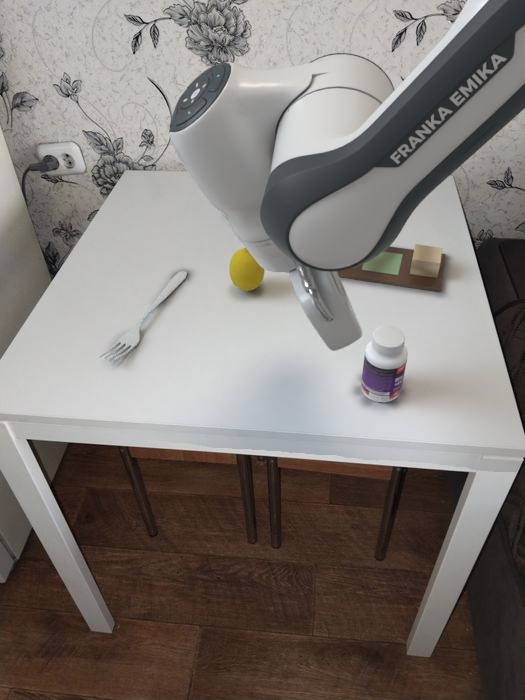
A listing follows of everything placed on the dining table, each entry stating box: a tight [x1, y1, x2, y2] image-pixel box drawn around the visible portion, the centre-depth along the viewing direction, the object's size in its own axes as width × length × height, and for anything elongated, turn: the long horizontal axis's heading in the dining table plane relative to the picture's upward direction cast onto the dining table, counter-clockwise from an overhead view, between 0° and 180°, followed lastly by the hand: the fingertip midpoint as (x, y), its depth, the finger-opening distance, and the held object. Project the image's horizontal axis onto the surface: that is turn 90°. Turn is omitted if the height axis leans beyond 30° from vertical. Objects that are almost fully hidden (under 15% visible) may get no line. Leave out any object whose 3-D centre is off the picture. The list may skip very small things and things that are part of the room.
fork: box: [98, 270, 188, 363], centre depth 92 cm, size 3×24×2 cm, turn 158°
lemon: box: [229, 247, 265, 291], centre depth 93 cm, size 6×6×8 cm
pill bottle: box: [360, 325, 408, 403], centre depth 76 cm, size 5×5×10 cm
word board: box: [337, 244, 447, 293], centre depth 99 cm, size 20×10×4 cm, turn 73°
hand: (341, 307), depth 68 cm, fingers open, 8 cm apart
